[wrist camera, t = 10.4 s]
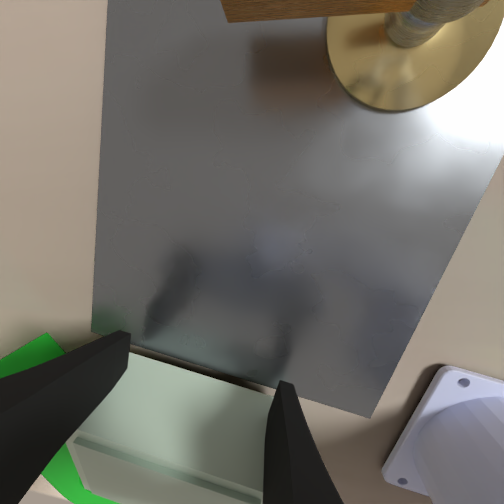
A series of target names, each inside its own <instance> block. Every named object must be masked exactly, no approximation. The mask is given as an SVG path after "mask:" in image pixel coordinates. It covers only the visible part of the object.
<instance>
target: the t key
mask: <svg viewBox="0 0 504 504" xmlns="http://www.w3.org/2000/svg"><path fill="white" fill-rule="evenodd" d="M220 1H221V4H222V7H223V10H224V13H225V16H226V19H227V22H228V23H237V22H252V21H268V20H283V19H299V18H314V17H330V16H345V15H361V14H376V13H385V18H384V19H385V28H386V31H387V33H388V35H389V37H390V38H391V39H392V41H394V42H395V43H396V44H398V45H400V46H404V47H415V46H418V45H421V44H423V43H425V42H427V41H428V40H430V39H431V38H432V37H433V36H434V35H435V34H436V33H437V32H438V31H439V30H440V29H441V28H442V27H443V26H444V25H445V24H446V23H449V22H452V21H455V20H458V19H460V18H462V17H464V16H466V15H468V14H469V13H471V12H472V11H474V10H475V9H476V8H477V7H483V6H484V5H485V4H486V3H488V2H489V1H490V0H220Z"/></svg>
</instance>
